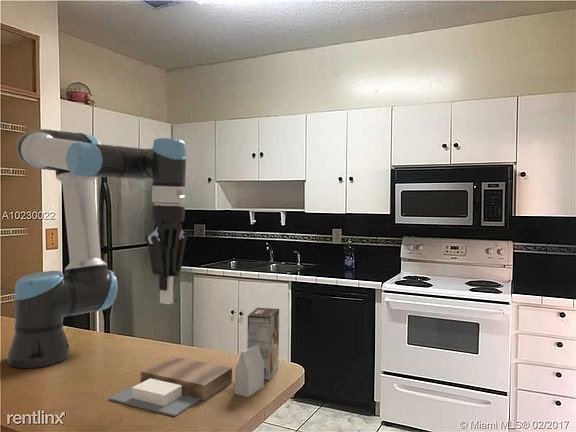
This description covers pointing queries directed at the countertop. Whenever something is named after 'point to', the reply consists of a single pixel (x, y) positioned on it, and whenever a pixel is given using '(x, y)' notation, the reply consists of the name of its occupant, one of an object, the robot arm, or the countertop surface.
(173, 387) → the tile
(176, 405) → the mat
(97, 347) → the countertop surface
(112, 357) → the countertop surface
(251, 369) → the tea bag
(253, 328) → the coffee box
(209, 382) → the brown flat block
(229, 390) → the countertop surface
